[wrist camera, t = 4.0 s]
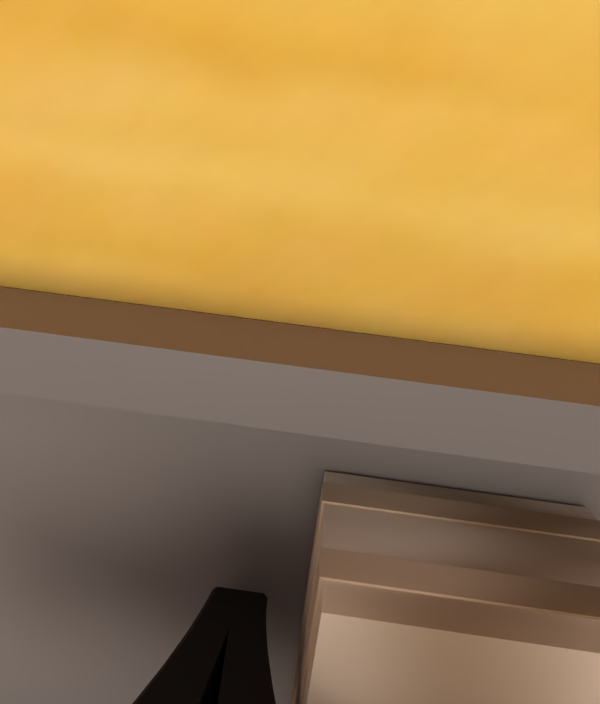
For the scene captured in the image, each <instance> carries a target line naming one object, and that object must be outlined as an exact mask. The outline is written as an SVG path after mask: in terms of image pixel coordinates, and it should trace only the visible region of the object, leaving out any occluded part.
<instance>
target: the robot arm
mask: <svg viewBox="0 0 600 704" xmlns="http://www.w3.org/2000/svg"><path fill="white" fill-rule="evenodd" d="M267 600H268V598H267V597H266V595H265V594H264V593H258V592H252V591H245V590H238V589H231V588H224V587H216V588H214V589H213V590H212V591H211V593H210V595H209V597H208V599H207V601H206V602H205V604H204V606H203V608H202V609H201V611H200V613H199V614H198V616H197V617H196V619H195V620H194V622H193V623H192V625H191V627H190V628H189V630H188V631H187V633H186V634H185V636H184V637H183V638H182V640H181V641H180V642H179V644H178V645H177V647H176V648H175V649H174V651H173V652H172V654H171V655H170V656H169V658H168V659H167V661H166V662H165V663H164V665H163V666H162V667H161V669H160V670H159V671H158V672H157V674H156V675H155V676H154V677H153V679H152V680H151V681H150V682H149V684H148V685H147V686H146V687H145V689H144V690H143V691H142V692H141V694H140V695H139V696H138V697H137V699H136V700H135V701H134V702H133V703H132V704H276V702H275V696H274V691H273V685H272V678H271V671H270V664H269V656H268V646H267V632H266V608H267Z"/></svg>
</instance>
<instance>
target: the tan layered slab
mask: <svg viewBox="0 0 600 704" xmlns="http://www.w3.org/2000/svg"><path fill="white" fill-rule="evenodd" d="M289 704H600V521H599V520H597V519H596V518H595V517H594V516H593V515H592V514H591V513H590V511H589V510H588V509H587V508H586V507H580V506H573V505H565V504H558V503H551V502H544V501H536V500H529V499H522V498H515V497H508V496H500V495H493V494H486V493H479V492H471V491H464V490H457V489H450V488H443V487H435V486H428V485H421V484H414V483H406V482H399V481H392V480H385V479H378V478H370V477H363V476H356V475H349V474H341V473H334V472H327V471H325V474H324V480H323V483H322V489H321V496H320V503H319V509H318V516H317V523H316V529H315V536H314V543H313V549H312V556H311V563H310V570H309V576H308V583H307V590H306V596H305V603H304V610H303V616H302V623H301V630H300V636H299V643H298V650H297V656H296V663H295V670H294V676H293V683H292V690H291V696H290V703H289Z"/></svg>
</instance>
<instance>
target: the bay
mask: <svg viewBox="0 0 600 704" xmlns="http://www.w3.org/2000/svg"><path fill="white" fill-rule="evenodd" d="M325 471H327V472H334V473H341V474H349V475H356V476H363V477H370V478H378V479H385V480H392V481H399V482H406V483H414V484H421V485H428V486H435V487H443V488H450V489H457V490H464V491H471V492H479V493H486V494H493V495H500V496H508V497H515V498H522V499H529V500H536V501H544V502H551V503H558V504H565V505H573V506H580V507H586V508H587V509H588V510H589V511H590V513H591V514H592V515H593V516H594V517H595V518H596V519H597V520H599V521H600V364H595V363H587V362H579V361H571V360H564V359H556V358H548V357H541V356H533V355H525V354H517V353H510V352H502V351H494V350H487V349H479V348H471V347H463V346H456V345H448V344H440V343H432V342H425V341H417V340H409V339H402V338H394V337H386V336H378V335H371V334H363V333H355V332H348V331H340V330H332V329H324V328H317V327H309V326H301V325H294V324H286V323H278V322H270V321H263V320H255V319H247V318H239V317H232V316H224V315H216V314H209V313H201V312H193V311H185V310H178V309H170V308H162V307H155V306H147V305H139V304H131V303H124V302H116V301H108V300H100V299H93V298H85V297H77V296H70V295H62V294H54V293H46V292H39V291H31V290H23V289H16V288H8V287H0V704H132V703H133V702H134V701H135V700H136V699H137V697H138V696H139V695H140V694H141V692H142V691H143V690H144V689H145V687H146V686H147V685H148V684H149V682H150V681H151V680H152V679H153V677H154V676H155V675H156V674H157V672H158V671H159V670H160V669H161V667H162V666H163V665H164V663H165V662H166V661H167V659H168V658H169V656H170V655H171V654H172V652H173V651H174V649H175V648H176V647H177V645H178V644H179V642H180V641H181V640H182V638H183V637H184V636H185V634H186V633H187V631H188V630H189V628H190V627H191V625H192V623H193V622H194V620H195V619H196V617H197V616H198V614H199V613H200V611H201V609H202V608H203V606H204V604H205V602H206V601H207V599H208V597H209V595H210V593H211V591H212V590H213V589H214V588H216V587H224V588H231V589H238V590H245V591H252V592H258V593H264V594H265V595H266V597H267V598H268V600H267V608H266V632H267V646H268V656H269V664H270V671H271V678H272V685H273V691H274V696H275V702H276V704H289V703H290V696H291V690H292V683H293V676H294V670H295V663H296V656H297V650H298V643H299V636H300V630H301V623H302V616H303V610H304V603H305V596H306V590H307V583H308V576H309V570H310V563H311V556H312V549H313V543H314V536H315V529H316V523H317V516H318V509H319V503H320V496H321V489H322V483H323V480H324V474H325Z"/></svg>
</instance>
